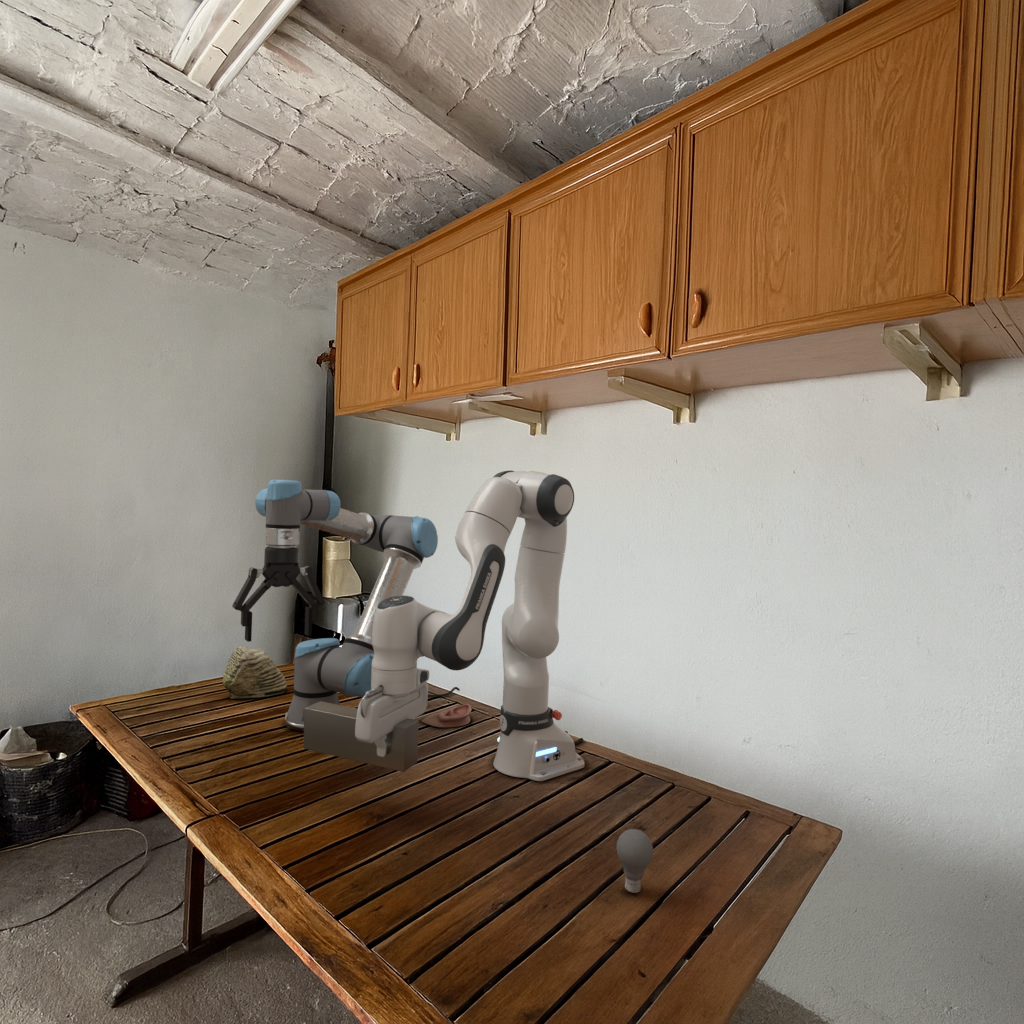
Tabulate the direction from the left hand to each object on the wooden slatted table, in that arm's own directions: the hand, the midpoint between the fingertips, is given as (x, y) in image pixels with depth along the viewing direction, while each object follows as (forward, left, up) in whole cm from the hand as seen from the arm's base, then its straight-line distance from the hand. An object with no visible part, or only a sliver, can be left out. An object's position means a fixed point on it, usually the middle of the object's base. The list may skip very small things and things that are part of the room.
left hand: (278, 637), depth 147 cm
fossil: (-24, -51, -30) cm, 64 cm away
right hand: (-2, +38, -16) cm, 42 cm away
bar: (0, +31, -19) cm, 36 cm away
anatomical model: (-50, +7, -30) cm, 59 cm away
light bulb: (-15, +85, -30) cm, 92 cm away
